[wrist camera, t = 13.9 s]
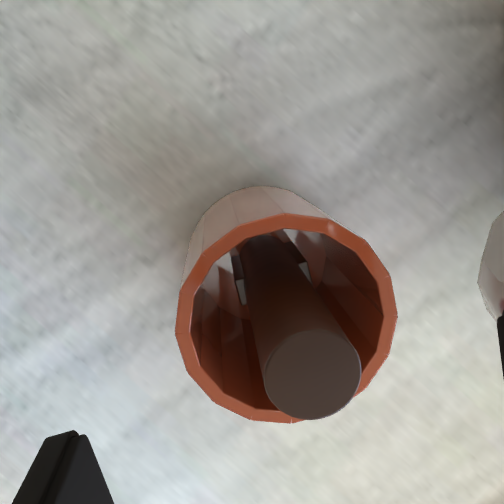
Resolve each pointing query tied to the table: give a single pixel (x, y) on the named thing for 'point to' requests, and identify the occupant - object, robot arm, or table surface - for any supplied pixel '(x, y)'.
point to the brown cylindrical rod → (294, 331)
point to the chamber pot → (493, 269)
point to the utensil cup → (237, 316)
